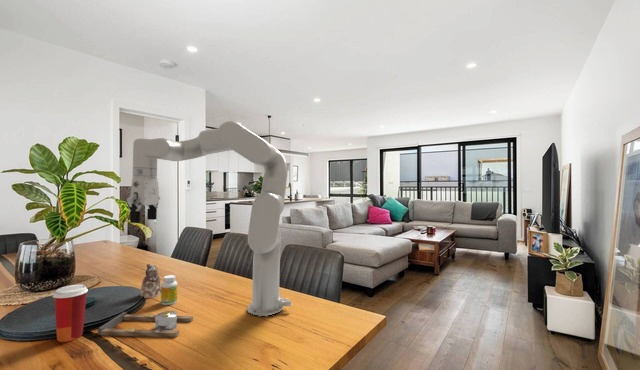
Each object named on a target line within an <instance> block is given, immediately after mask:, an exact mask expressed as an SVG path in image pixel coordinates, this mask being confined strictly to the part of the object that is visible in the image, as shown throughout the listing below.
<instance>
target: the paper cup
mask: <svg viewBox="0 0 640 370" xmlns="http://www.w3.org/2000/svg"><path fill="white" fill-rule="evenodd" d="M88 291H89V289H88V288H87V287H86V285H85V284H72V285H71V284H70V285H66V286H62V287H59V288H57V289H55V291H54V292H53V295H51V296H52V298H53V299H54V312H55V326H56V327H55V328H56V329H55V330H56V341H57V342H59V343H68V342H72V341H75V340H78V339H79V338H81V337H82V336H83V332H84V326H85V325H84V324H85V323H84V322H85V316H86V315H85V313H86V303H87V293H88Z"/></svg>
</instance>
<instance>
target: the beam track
mask: <svg viewBox="0 0 640 370" xmlns="http://www.w3.org/2000/svg"><path fill="white" fill-rule="evenodd" d="M156 315H157V314H153V313H152V314H151V313H148V314H127V311H124V312H122V313H120V314H118V315H117V316H115V317H113V318H112V319H110V320H109V321H108V322H105V323H104V324H103V325H101V326H100V327H98V328H97V336H111V337H112V336H114V337H115V336H116V337H119V336H121V337H150V338H151V337H152V338H153V337H159V338H160V337H161V338H178V336H179V335H180V330H176V329H173V330H161V329H157V330H155V329H137V328H114V327H116V326H117V325H119V324H121V323H122V322H123V321H132V322H133V321H135V322H136V321H141V322H155V316H156ZM193 321H194V316H193V315H177V323H178V322H180V323H192V322H193Z"/></svg>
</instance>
